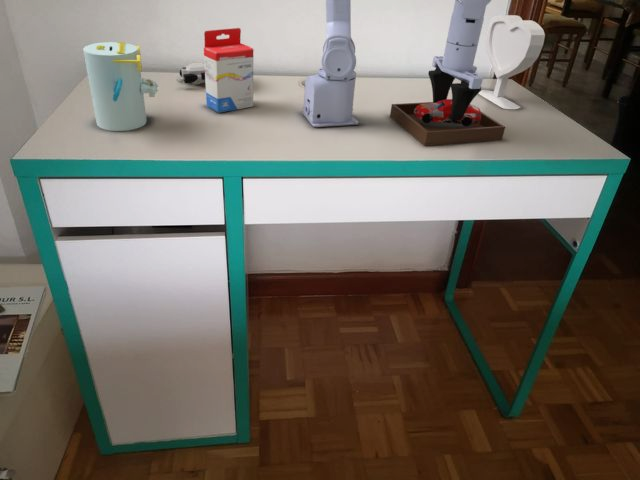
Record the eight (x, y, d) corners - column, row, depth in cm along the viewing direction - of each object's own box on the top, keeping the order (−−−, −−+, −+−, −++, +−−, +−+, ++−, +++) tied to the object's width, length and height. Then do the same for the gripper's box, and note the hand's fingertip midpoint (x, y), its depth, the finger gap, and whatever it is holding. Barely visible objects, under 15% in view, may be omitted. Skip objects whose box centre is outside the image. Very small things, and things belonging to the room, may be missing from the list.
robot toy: (176, 94, 112) (245, 93, 113) (172, 73, 110) (243, 72, 110) (186, 77, 123) (249, 76, 123) (183, 58, 120) (248, 57, 120)
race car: (413, 122, 102) (417, 103, 99) (411, 113, 106) (414, 94, 104) (481, 128, 101) (486, 108, 99) (476, 118, 106) (480, 99, 103)
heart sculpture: (470, 89, 128) (488, 10, 118) (487, 88, 129) (507, 11, 119) (507, 111, 116) (531, 26, 106) (526, 110, 117) (551, 26, 107)
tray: (424, 146, 96) (427, 132, 94) (389, 116, 108) (391, 104, 106) (501, 139, 101) (505, 126, 100) (460, 112, 113) (463, 100, 111)
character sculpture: (164, 141, 90) (156, 63, 82) (93, 145, 87) (78, 63, 79) (159, 102, 106) (151, 33, 98) (98, 104, 102) (86, 33, 95)
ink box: (218, 114, 102) (215, 36, 94) (206, 106, 105) (201, 30, 97) (254, 106, 107) (254, 32, 99) (241, 99, 110) (240, 26, 102)
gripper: (503, 52, 91) (484, 125, 98) (460, 33, 102) (446, 100, 110) (469, 53, 89) (452, 128, 96) (428, 33, 100) (416, 101, 107)
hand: (447, 113), depth 103 cm, fingers closed on race car, 6 cm apart
